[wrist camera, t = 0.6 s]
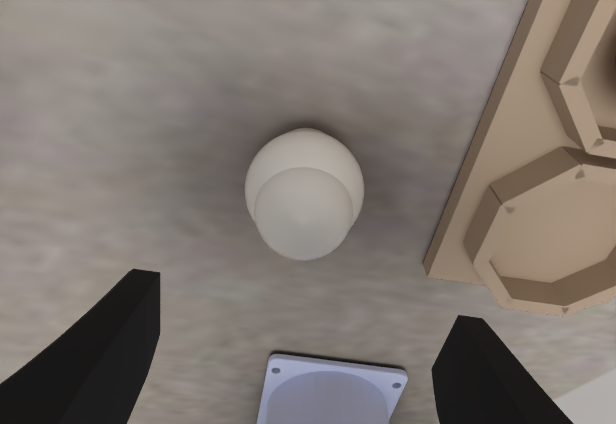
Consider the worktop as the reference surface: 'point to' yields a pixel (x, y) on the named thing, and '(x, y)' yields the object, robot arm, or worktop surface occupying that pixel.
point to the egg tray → (541, 169)
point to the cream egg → (304, 193)
